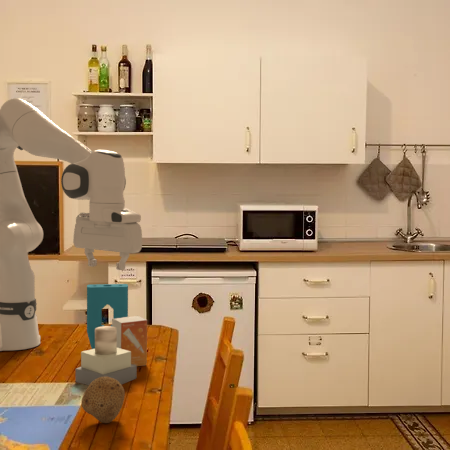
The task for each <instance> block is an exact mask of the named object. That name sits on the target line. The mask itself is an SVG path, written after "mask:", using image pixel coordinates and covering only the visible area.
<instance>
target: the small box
mask: <svg viewBox="0 0 450 450" xmlns="http://www.w3.org/2000/svg"><path fill="white" fill-rule="evenodd" d="M111 325H112V327H116V328H117V348H121V349H124V350H128V351H131V364H133V365H137V367H144V366H147V363H148V362H147V354H148V353H147V351H148V346H147V345H148V319H146V318H144V317H142V316H140V315H133V316H128V317H123V318H116V319H113V318H112V319H111Z"/></svg>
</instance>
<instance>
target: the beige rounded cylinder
mask: <svg viewBox="0 0 450 450" xmlns="http://www.w3.org/2000/svg"><path fill="white" fill-rule="evenodd" d="M116 352H117V328H116V327H112V326H111V325H104V326H102V327H97V328H95V353H96V354H100V355H109V354H114V353H116Z"/></svg>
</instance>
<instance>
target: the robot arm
mask: <svg viewBox="0 0 450 450" xmlns="http://www.w3.org/2000/svg"><path fill="white" fill-rule="evenodd" d="M16 149H18V150H19V151H23V150H24V151H25V152H27V153H29V154H31V155H33V156H36V157H42V158H48V159H55V160H60V161H64V162H67V163H69V164H68V165H67V166H66V167H65V168H64V169H63V171H62V173H61V178H60V181H61V182H60V183H61V188H62V191H63V193H64V194H65V196H67V197H68V198H70V199H73V200H78V201H79V200H82V201H83V200H84V201H85V200H88V201H89V203H88V204H89V205H88V206H89V209H88V210H89V212H80V213H79V214H78V215H77V216H76V218H75V225H74V230H73V231H74V232H73V241H72V243H73V245H74V247H75V248H76V249H77V248H78V249H84V254H85V256H86V259H87V266H88V267H94V268H95V267H96V266H98V259H96V258H95V256H94V254H93V253H95V250H97V251H106V252H115V253H119V257H120V258H119V261H118V262H116V265H115V266H116V270H118V271H124V270H126V262H127V261H128V259H129V258H130V254H136V253H140V252H141V250H142V248H143V231H142V227H141V225H140V222H141V221H142V220H141V219H142V217H141V214H140V213H139V212H136V211H134V210H132V209H130V208H128V207H126V206H125V198H124V191H125V189H126V184H127V179H126V171H125V168H126V167H125V162H124V158H123V155H121V154H120V153H119V152H116V151H112V150H107V149H96V150H91V149H90V148H89V147H88V146H86V145H85V144H84V143H83V142H81V141H79V140H78V139H77V138H75V137H74V136H72V135H70V134H69V133H68V132H67V131H65V130H64V129H62V128H61V127H60V126H58V125H57V124H56V123H54V122H53V121H52V120H51V119H50V118H49V117H47V115H45V114H44V113H43V112H42V111H41V110H39V108H37V107H36V106H34V105H33V104H31V103H30V102H28V101H27V100H24V99H22V98H18V97H17V98H16V97H14V98H11V99H8V100H6V101H5V102H4V103H3V104H2V105H1V106H0V352H2V351H21V350H27V349H32V348H35V347H38V346H40V344H42V343H41V335H40V333H39V325H38V316H37V313H36V311H37V304H38V303H37V298H35V297H36V296H35V295H36V293H35V292H36V289H35V288H36V287H35V285H36V284H35V282H36V281H35V280H36V279H35V277H36V276H35V273H34V271H33V270H32V267H31V263H30V259H29V252H32V251H34V250H35V249H36V248H38V247H39V245H41V244H42V242H43V239H44V230H43V228H42V226H41V224H40V223H39V222H38V221H37V219H36V218H35V216H34V214H33V212H32V210H31V208H30V205H29V203H28V201H27V198H26V197H25V193H24V190H23V187H22V186H23V185H22V182H21V179H20V175H19V172H18V167H17V164H16V161H15V157H14V152H15V150H16Z"/></svg>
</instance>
